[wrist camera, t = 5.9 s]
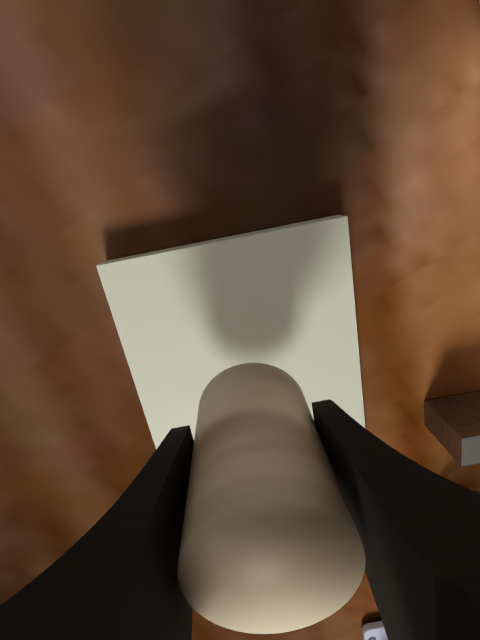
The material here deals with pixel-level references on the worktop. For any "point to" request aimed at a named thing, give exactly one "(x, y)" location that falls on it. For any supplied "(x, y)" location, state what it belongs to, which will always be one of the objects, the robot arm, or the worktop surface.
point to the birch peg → (264, 510)
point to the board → (238, 316)
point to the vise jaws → (456, 425)
